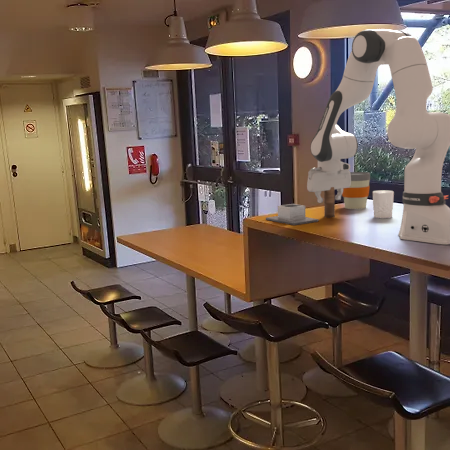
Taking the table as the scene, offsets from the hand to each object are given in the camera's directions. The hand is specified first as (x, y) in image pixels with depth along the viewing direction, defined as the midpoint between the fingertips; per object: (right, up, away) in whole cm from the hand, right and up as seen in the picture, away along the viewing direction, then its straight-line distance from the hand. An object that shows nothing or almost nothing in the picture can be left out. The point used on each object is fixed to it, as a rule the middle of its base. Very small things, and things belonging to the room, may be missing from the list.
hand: (329, 201), depth 221 cm
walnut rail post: (0, -6, +1) cm, 6 cm away
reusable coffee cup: (+15, -2, +22) cm, 27 cm away
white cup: (+20, -7, -4) cm, 22 cm away
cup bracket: (-15, -8, -4) cm, 18 cm away
